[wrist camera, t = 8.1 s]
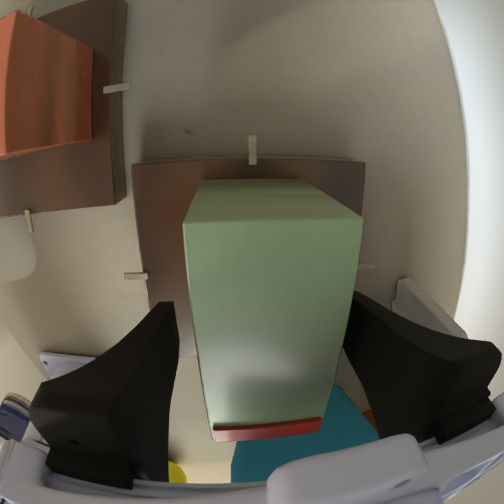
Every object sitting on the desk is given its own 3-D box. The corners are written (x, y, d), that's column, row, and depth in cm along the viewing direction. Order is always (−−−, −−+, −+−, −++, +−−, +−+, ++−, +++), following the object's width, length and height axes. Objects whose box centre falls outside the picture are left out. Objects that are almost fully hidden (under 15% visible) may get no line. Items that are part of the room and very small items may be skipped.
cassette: (395, 379, 24) (429, 437, 17) (379, 385, 24) (411, 446, 17) (412, 273, 20) (475, 331, 13) (391, 278, 20) (452, 343, 13)
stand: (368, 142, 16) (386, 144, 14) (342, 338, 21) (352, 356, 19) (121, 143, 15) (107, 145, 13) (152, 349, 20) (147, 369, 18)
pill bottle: (0, 386, 21) (-32, 446, 12) (33, 397, 22) (3, 466, 13) (18, 414, 23) (-7, 472, 14) (50, 425, 24) (28, 489, 15)
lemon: (134, 447, 26) (128, 486, 21) (180, 449, 26) (178, 491, 21) (152, 472, 28) (149, 506, 23) (193, 473, 29) (192, 509, 24)
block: (361, 382, 24) (445, 570, 5) (346, 414, 26) (409, 580, 7) (227, 393, 22) (249, 629, 4) (227, 425, 24) (245, 621, 6)
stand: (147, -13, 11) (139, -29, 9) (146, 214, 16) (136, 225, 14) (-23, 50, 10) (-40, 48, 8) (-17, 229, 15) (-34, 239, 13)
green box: (200, 180, 14) (180, 224, 7) (302, 178, 14) (369, 220, 8) (211, 345, 18) (212, 444, 11) (291, 340, 18) (321, 433, 12)
